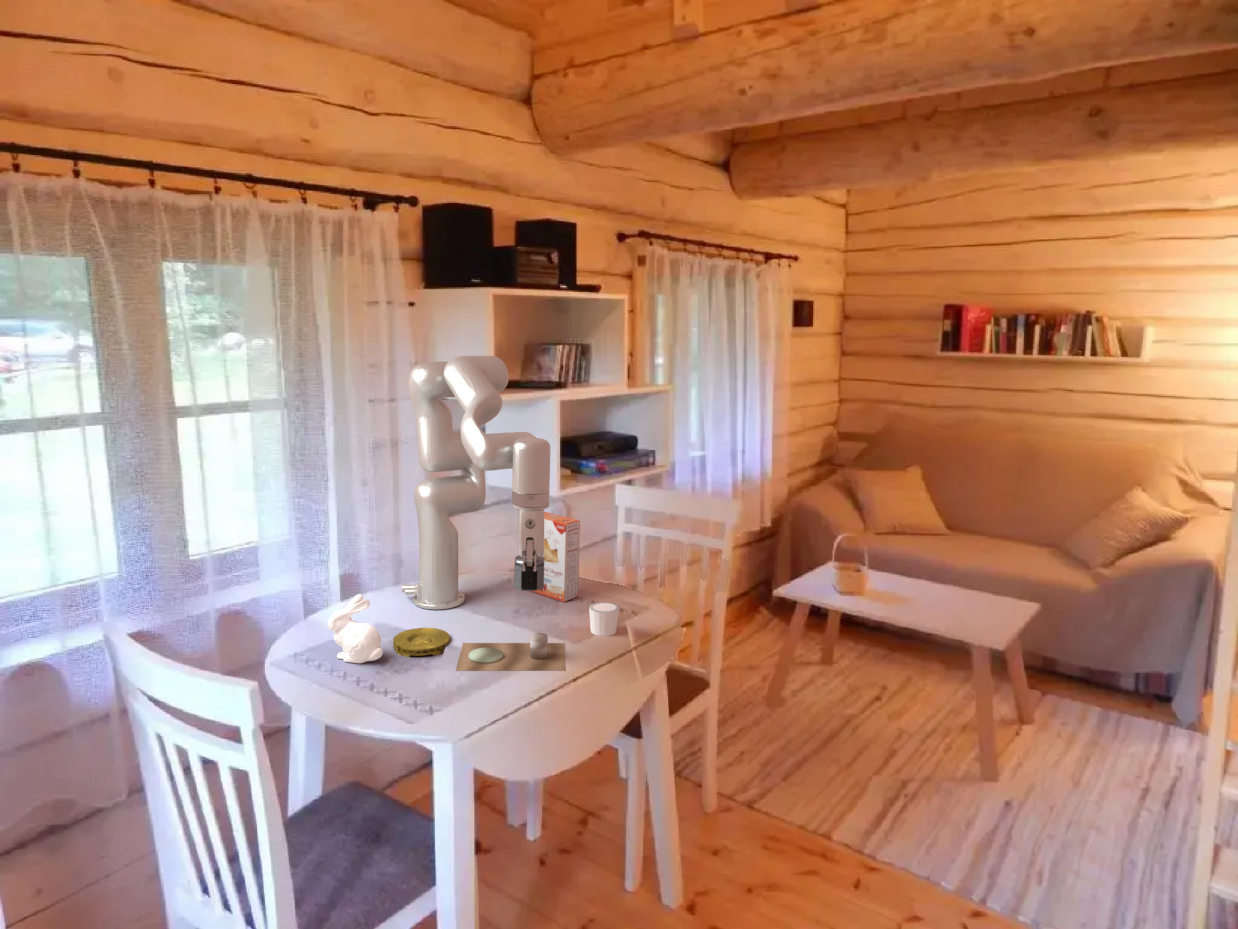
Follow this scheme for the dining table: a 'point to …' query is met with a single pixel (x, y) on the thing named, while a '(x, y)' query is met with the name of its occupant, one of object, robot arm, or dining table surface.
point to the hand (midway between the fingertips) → (529, 583)
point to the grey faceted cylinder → (539, 567)
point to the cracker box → (560, 557)
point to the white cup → (603, 618)
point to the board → (513, 656)
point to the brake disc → (421, 642)
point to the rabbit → (355, 634)
